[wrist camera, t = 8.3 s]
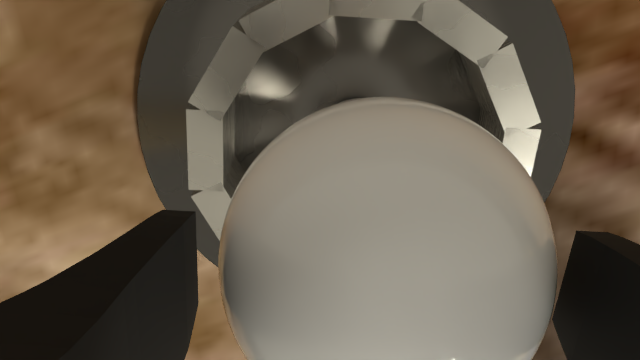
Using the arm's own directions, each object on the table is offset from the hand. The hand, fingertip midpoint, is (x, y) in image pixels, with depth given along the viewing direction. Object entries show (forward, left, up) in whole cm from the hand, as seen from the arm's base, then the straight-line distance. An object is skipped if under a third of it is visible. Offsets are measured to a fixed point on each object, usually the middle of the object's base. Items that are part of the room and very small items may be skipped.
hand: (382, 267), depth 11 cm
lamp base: (0, 0, -9) cm, 9 cm away
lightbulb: (0, 0, -8) cm, 8 cm away
